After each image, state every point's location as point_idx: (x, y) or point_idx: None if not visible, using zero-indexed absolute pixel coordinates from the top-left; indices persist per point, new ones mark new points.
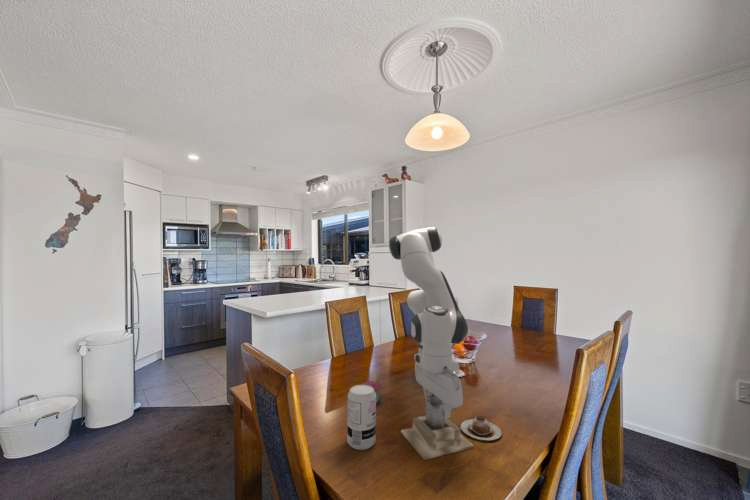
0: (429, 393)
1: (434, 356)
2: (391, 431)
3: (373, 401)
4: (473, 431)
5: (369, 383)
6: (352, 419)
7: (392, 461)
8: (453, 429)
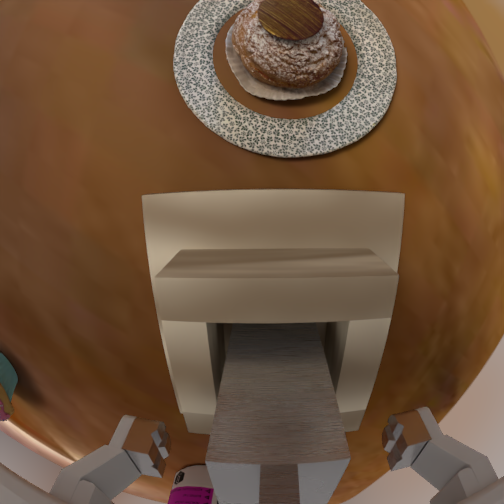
0: (114, 468)
1: None
2: (171, 423)
3: None
4: (280, 90)
5: None
6: None
7: None
8: (381, 318)
